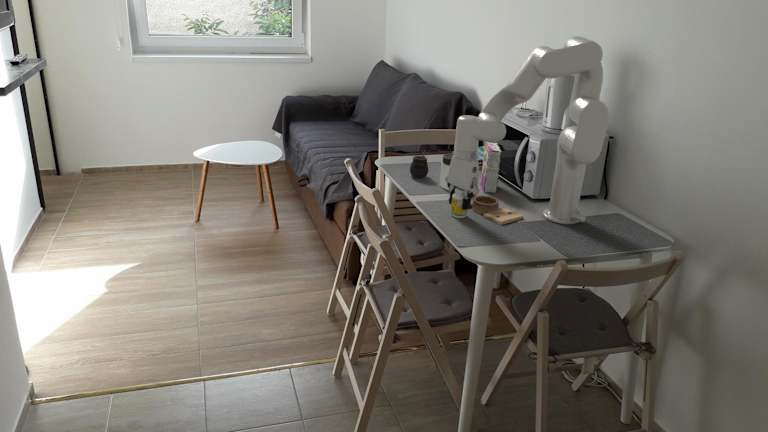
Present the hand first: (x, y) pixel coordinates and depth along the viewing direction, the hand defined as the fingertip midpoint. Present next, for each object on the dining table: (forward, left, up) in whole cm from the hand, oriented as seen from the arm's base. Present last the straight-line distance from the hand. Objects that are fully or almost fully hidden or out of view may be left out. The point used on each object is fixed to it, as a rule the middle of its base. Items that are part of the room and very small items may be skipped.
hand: (459, 205), depth 213 cm
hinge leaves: (-1, -12, -3) cm, 13 cm away
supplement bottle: (0, 0, -4) cm, 4 cm away
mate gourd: (+37, -15, -4) cm, 40 cm away
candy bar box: (+14, -30, -4) cm, 33 cm away
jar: (+22, -18, -4) cm, 29 cm away
